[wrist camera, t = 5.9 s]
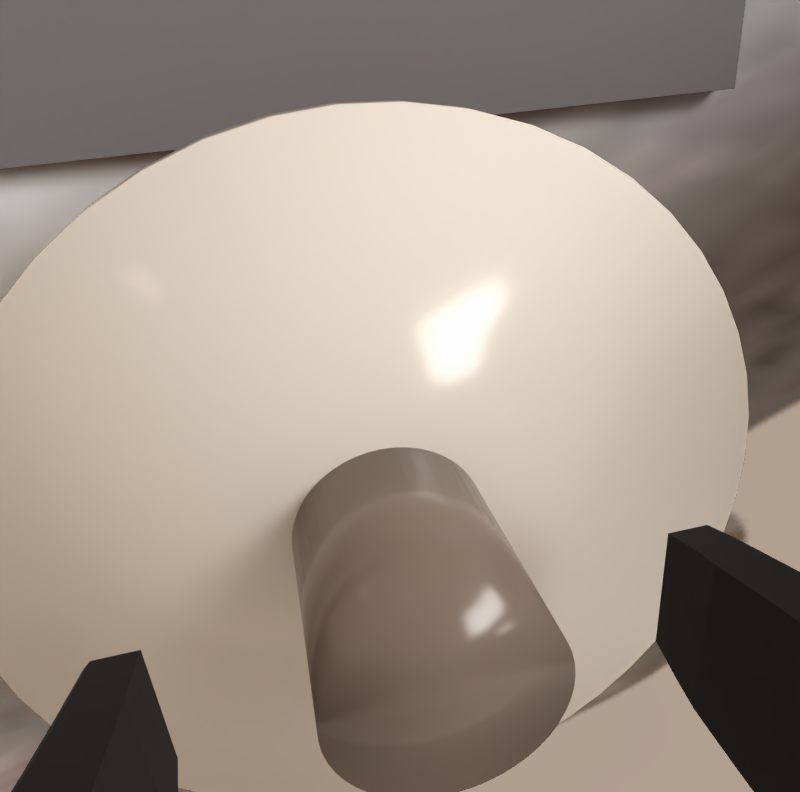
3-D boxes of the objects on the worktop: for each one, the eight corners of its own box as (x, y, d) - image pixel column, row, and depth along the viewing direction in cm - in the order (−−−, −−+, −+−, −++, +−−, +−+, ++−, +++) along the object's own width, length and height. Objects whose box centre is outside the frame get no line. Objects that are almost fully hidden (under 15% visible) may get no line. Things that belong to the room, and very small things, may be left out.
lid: (778, 52, 10) (1088, 48, 6) (689, 685, 16) (825, 869, 12) (-229, 164, 8) (-599, 251, 4) (96, 843, 14) (51, 1119, 10)
